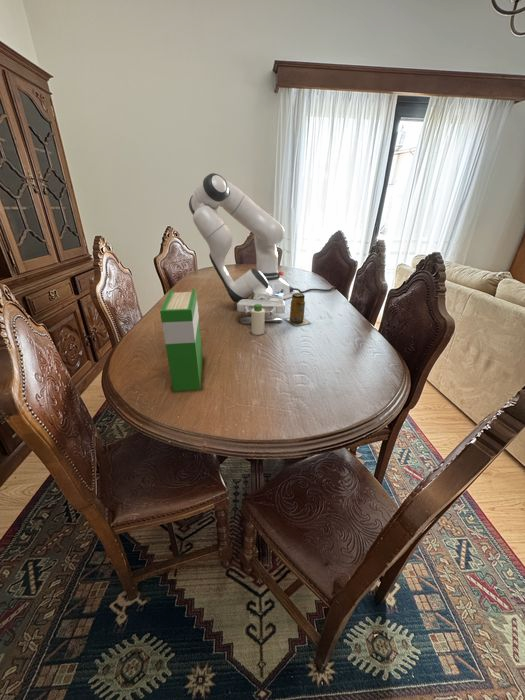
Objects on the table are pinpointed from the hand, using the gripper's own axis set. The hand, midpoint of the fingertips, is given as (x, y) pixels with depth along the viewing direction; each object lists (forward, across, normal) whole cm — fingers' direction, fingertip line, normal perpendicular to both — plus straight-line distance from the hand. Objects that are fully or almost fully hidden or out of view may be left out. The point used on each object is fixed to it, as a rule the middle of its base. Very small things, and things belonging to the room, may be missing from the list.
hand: (259, 313), depth 115 cm
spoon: (-9, 0, +7) cm, 11 cm away
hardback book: (+35, -18, +7) cm, 40 cm away
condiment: (-11, +16, +8) cm, 21 cm away
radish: (+2, 0, +7) cm, 8 cm away
